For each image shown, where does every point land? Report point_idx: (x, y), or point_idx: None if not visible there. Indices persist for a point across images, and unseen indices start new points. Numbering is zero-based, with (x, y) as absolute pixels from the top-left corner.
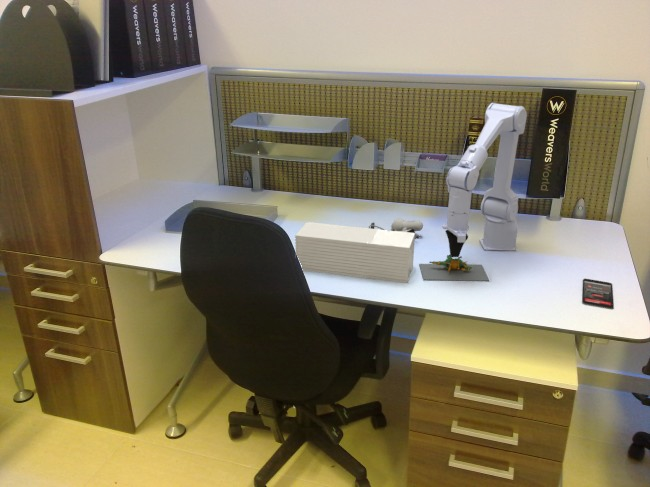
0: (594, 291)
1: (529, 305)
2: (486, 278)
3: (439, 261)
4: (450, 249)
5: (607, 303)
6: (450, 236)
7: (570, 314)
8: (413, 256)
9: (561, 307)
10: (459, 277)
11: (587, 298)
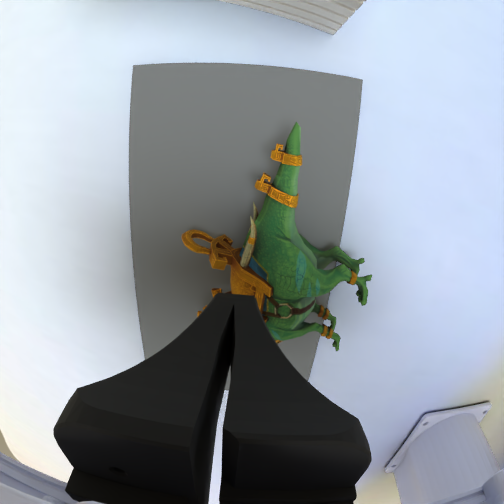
0: None
1: (32, 398)
2: None
3: (287, 198)
4: (195, 322)
5: None
6: (55, 432)
7: (33, 436)
8: (344, 10)
9: (53, 441)
10: (161, 274)
11: None
